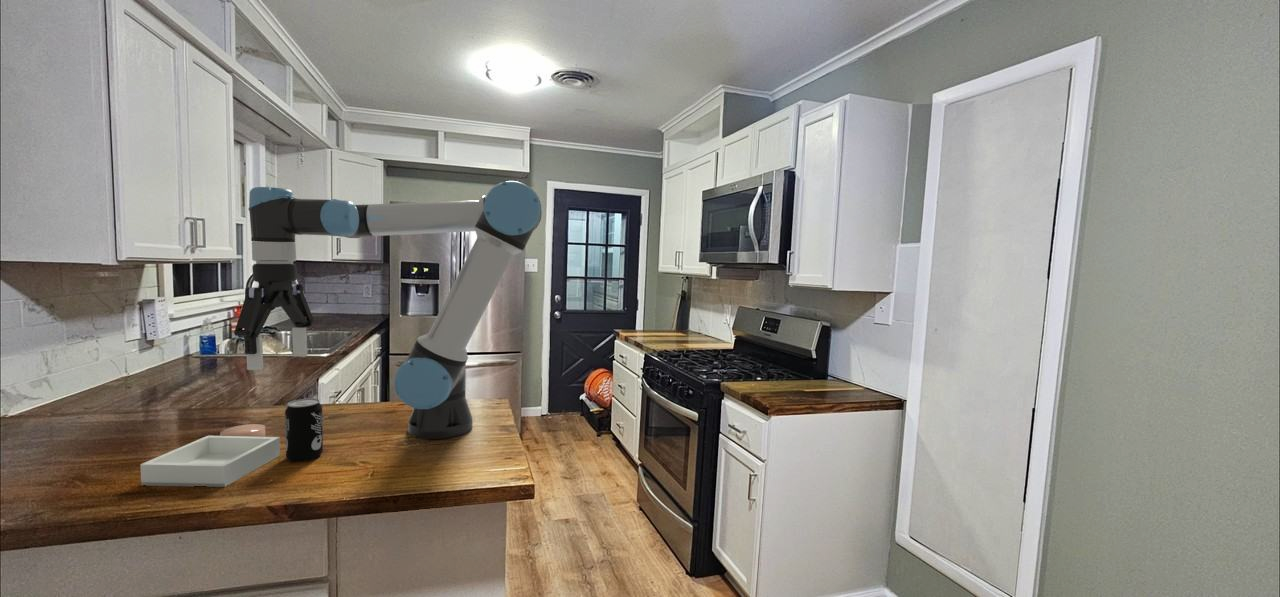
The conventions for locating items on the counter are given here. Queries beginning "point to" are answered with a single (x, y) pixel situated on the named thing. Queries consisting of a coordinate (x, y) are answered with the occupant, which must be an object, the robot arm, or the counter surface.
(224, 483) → the white square tray
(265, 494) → the counter surface
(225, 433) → the pink shiny round part
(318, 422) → the beverage can
